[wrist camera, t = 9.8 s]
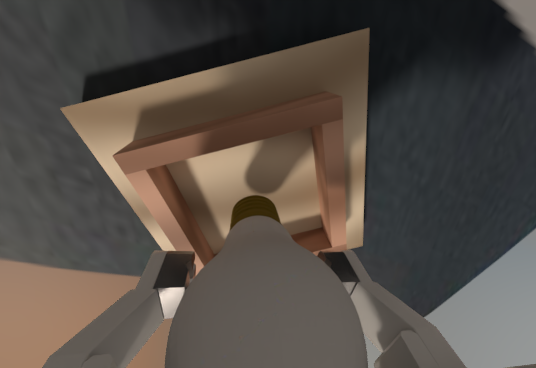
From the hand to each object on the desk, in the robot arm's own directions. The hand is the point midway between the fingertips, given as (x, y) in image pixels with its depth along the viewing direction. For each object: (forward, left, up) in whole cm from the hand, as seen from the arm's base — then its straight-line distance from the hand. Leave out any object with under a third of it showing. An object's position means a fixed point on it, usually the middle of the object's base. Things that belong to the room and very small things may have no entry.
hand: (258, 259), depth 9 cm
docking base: (0, 0, -7) cm, 7 cm away
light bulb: (0, 0, -4) cm, 4 cm away
